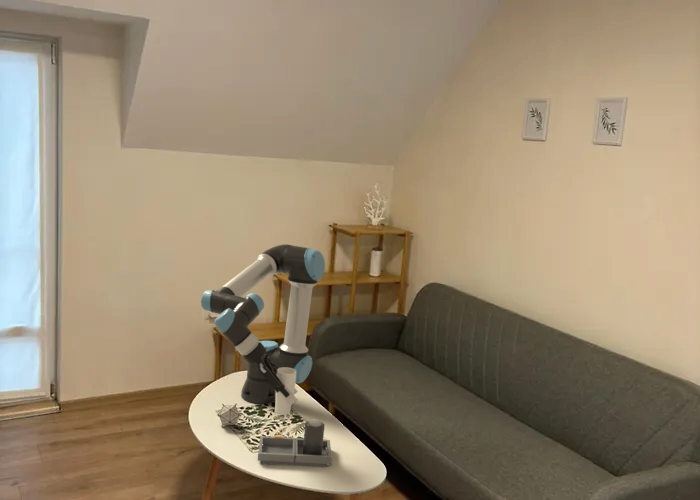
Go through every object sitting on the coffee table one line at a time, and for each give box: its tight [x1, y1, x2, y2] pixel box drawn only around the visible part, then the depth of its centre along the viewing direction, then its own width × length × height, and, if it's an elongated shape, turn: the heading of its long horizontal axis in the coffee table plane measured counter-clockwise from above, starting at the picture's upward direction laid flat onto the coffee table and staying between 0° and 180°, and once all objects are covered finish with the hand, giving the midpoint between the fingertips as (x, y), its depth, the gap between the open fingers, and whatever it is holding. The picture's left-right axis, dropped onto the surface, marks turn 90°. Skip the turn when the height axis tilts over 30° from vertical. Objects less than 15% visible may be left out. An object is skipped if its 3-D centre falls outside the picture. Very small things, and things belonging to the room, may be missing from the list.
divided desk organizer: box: [257, 418, 333, 468], centre depth 222 cm, size 13×24×13 cm, turn 95°
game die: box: [216, 403, 242, 428], centre depth 240 cm, size 9×8×10 cm
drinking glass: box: [274, 367, 296, 416], centre depth 223 cm, size 7×7×15 cm
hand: (294, 397), depth 224 cm, fingers closed on drinking glass, 7 cm apart
